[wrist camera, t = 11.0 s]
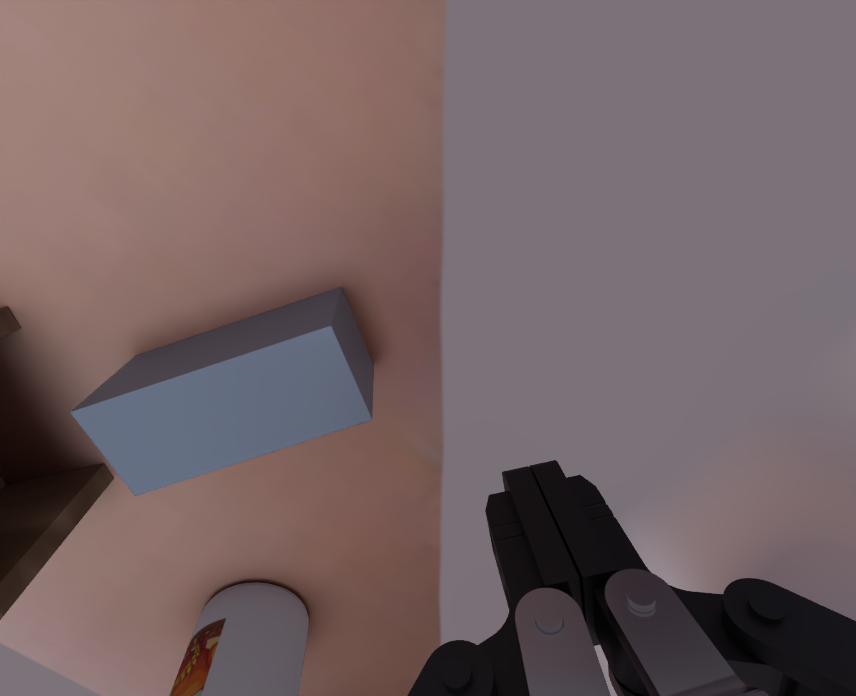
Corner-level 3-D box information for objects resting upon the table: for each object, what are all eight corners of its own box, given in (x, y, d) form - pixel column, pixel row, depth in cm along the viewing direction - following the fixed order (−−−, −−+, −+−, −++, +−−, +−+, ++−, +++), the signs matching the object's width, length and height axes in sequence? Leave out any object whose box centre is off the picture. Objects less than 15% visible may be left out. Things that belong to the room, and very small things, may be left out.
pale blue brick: (373, 363, 27) (372, 419, 21) (184, 425, 27) (135, 496, 22) (341, 285, 25) (330, 325, 19) (137, 354, 25) (69, 412, 20)
